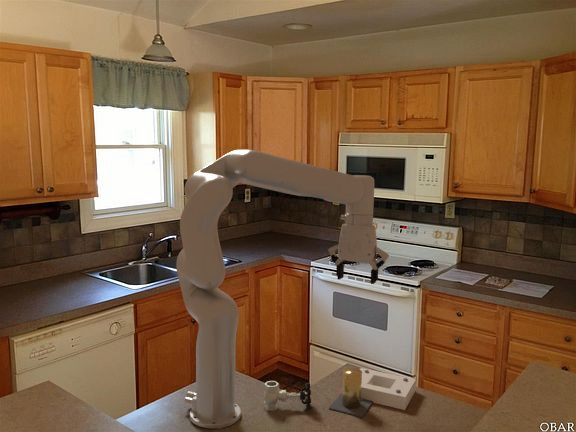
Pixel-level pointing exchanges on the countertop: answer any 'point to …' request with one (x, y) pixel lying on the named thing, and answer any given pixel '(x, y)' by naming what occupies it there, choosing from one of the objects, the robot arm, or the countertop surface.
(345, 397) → the brass domed cylinder
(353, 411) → the mat
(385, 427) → the countertop surface
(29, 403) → the countertop surface
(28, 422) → the countertop surface
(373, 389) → the plate
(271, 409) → the valve
